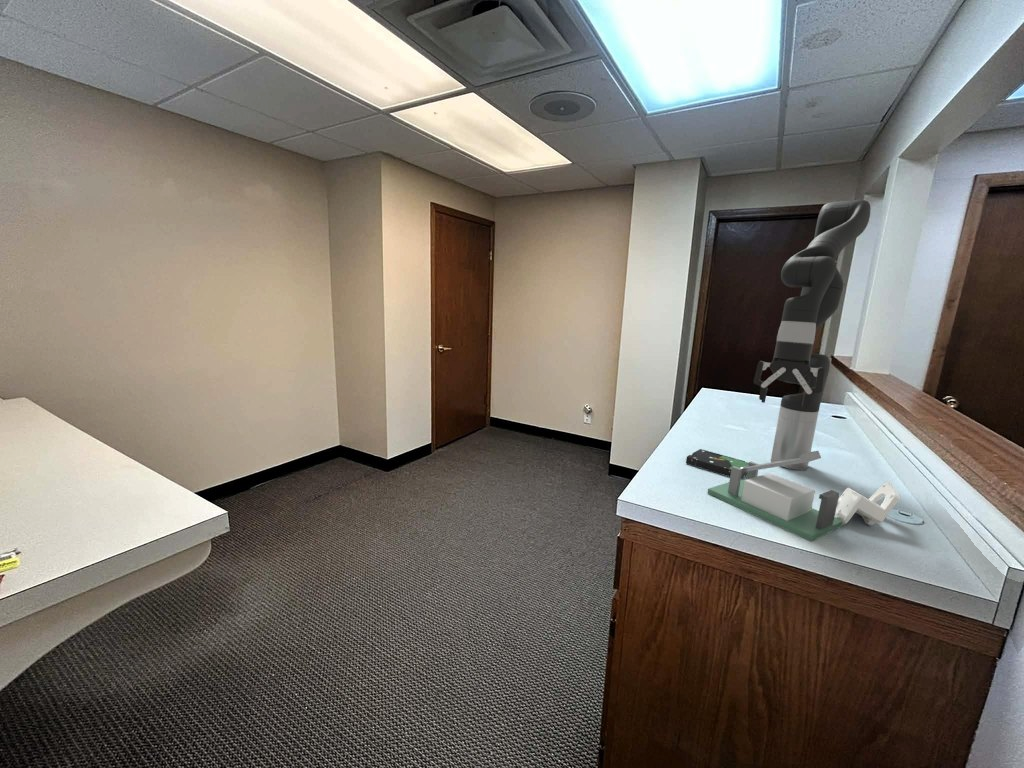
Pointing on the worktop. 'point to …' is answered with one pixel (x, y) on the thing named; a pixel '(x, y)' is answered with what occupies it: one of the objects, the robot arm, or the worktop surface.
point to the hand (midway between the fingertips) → (782, 405)
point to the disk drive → (715, 462)
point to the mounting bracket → (867, 504)
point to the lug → (827, 509)
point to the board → (792, 525)
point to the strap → (784, 462)
